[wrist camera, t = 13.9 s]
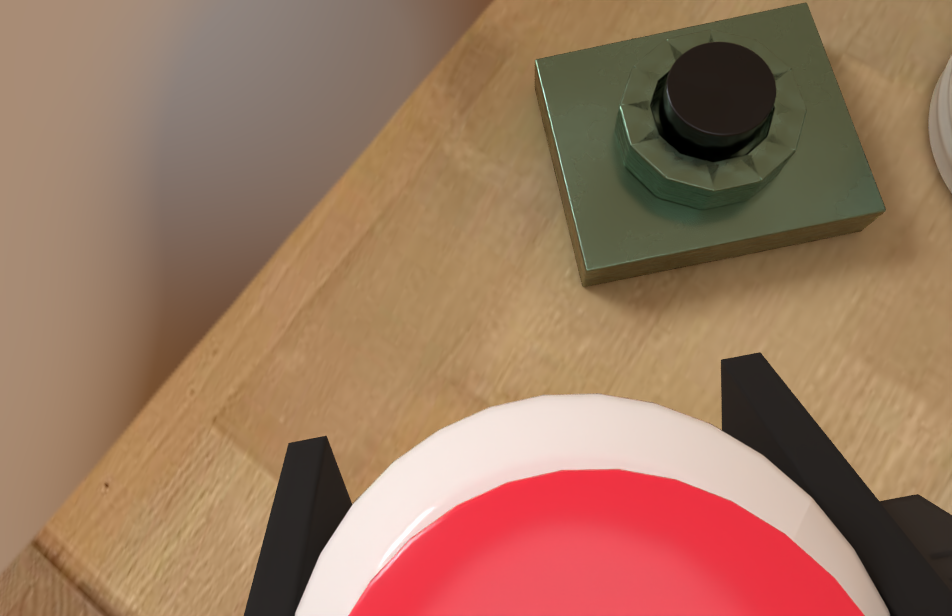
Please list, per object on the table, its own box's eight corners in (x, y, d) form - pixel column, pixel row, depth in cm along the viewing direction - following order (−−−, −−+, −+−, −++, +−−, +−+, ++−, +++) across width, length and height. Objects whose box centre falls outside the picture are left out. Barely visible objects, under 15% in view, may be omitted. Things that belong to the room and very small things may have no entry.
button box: (582, 287, 30) (589, 255, 26) (534, 87, 32) (534, 32, 28) (861, 231, 29) (911, 191, 25) (789, 34, 32) (824, -30, 28)
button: (672, 167, 27) (682, 145, 25) (646, 79, 28) (654, 52, 26) (775, 146, 27) (791, 122, 25) (745, 59, 28) (758, 31, 26)
